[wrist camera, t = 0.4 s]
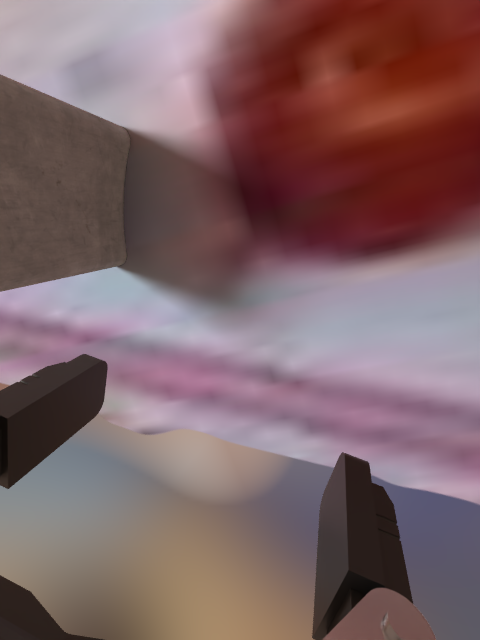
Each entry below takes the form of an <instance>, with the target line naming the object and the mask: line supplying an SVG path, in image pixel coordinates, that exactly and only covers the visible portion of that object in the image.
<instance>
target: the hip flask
mask: <svg viewBox="0 0 480 640" xmlns="http://www.w3.org/2000/svg"><path fill="white" fill-rule="evenodd" d="M129 149H130V137H129V134H128V132H127V131H126V129H124V128H123V127H121V126H119V125H117V124H114V123H112V122H110V121H107V120H105V119H103V118H100V117H98V116H96V115H93V114H91V113H89V112H86V111H84V110H82V109H79V108H77V107H75V106H72V105H70V104H68V103H65V102H63V101H61V100H58V99H56V98H54V97H52V96H49V95H47V94H45V93H42V92H40V91H38V90H35V89H33V88H31V87H28V86H26V85H24V84H21V83H19V82H17V81H14V80H12V79H10V78H7V77H5V76H3V75H0V292H1V291H6V290H10V289H15V288H19V287H24V286H29V285H33V284H38V283H42V282H47V281H52V280H56V279H61V278H66V277H70V276H75V275H79V274H84V273H89V272H93V271H98V270H102V269H107V268H112V267H116V266H120V265H122V264H124V263H125V261H126V258H127V251H126V245H125V236H124V219H123V206H124V183H125V173H126V165H127V159H128V154H129Z"/></svg>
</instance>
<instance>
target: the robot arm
mask: <svg viewBox="0 0 480 640" xmlns="http://www.w3.org/2000/svg"><path fill="white" fill-rule="evenodd" d="M106 377H107V363H106V362H105V361H103V360H100V359H97V358H95V357H92V356H89V355H87V354H82V355H80V356H78V357H77V358H75V359H73V360H71V361H69V362H67V363H65V362H63V363H59V364H55V365H51V366H47V367H45V368H43V369H41V370H39V371H38V372H36V373H34V374H33V375H32V376H28V377H26V378H24V379H22V380H21V381H20V382H16V383H14V384H12V385H11V386H9V387H7V388H5V389H3V390H1V391H0V485H1V486H3V487H5V488H7V489H9V488H10V487H11V486H12V485H14V484H15V483H16V482H17V481H19V480H20V479H21V478H22V477H23V476H25V475H26V474H27V473H28V472H29V471H31V470H32V469H33V468H34V467H35V466H37V465H38V464H39V463H40V462H41V461H43V460H44V459H45V458H46V457H47V456H49V455H50V454H51V453H52V452H54V451H55V450H56V449H57V448H58V447H60V446H61V445H62V444H63V443H64V442H66V441H67V440H68V439H69V438H70V437H72V436H73V435H74V434H75V433H76V432H77V431H79V430H80V429H81V428H82V427H84V426H85V425H86V424H87V423H88V422H90V421H91V420H92V419H93V418H94V417H95V416H96V415H97V414H98V413H99V411H100V409H101V407H102V405H103V402H104V395H105V386H106ZM396 524H397V520H396V515H395V510H394V505H393V503H392V501H391V500H390V498H389V496H388V495H387V493H386V491H385V490H384V488H383V487H382V486H379V485H377V484H374V483H372V481H371V473H370V466H369V463H368V462H367V461H364V460H362V459H359V458H357V457H354V456H351V455H349V454H346V453H341V455H340V456H339V459H338V461H337V463H336V465H335V468H334V470H333V473H332V475H331V477H330V479H329V482H328V484H327V486H326V488H325V491H324V494H323V497H322V501H321V506H320V514H319V531H318V548H317V565H316V566H317V567H316V583H315V601H314V618H313V636H312V638H313V639H315V640H436V638H435V635H434V633H433V631H432V629H431V627H430V625H429V624H428V622H427V620H426V619H425V618H424V616H423V615H422V613H421V612H420V611H419V610H418V609H417V608H416V607H415V606H414V605H413V601H412V596H411V591H410V586H409V581H408V576H407V570H406V565H405V560H404V555H403V550H402V545H401V541H399V538H400V536H399V530H398V526H397V525H396ZM0 640H103V639H96V638H90V637H83V636H77V635H71V634H68V633H66V632H64V631H63V630H62V629H61V628H60V626H59V625H58V624H57V623H56V622H55V621H54V619H53V618H52V617H51V616H50V614H49V613H48V612H47V611H46V610H45V608H44V607H43V606H42V605H41V604H40V602H39V601H38V600H37V599H36V598H35V596H34V595H33V594H32V593H31V592H30V591H28V590H26V589H25V588H23V587H21V586H19V585H17V584H15V583H13V582H12V581H10V580H8V579H6V578H4V577H2V576H0Z"/></svg>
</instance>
